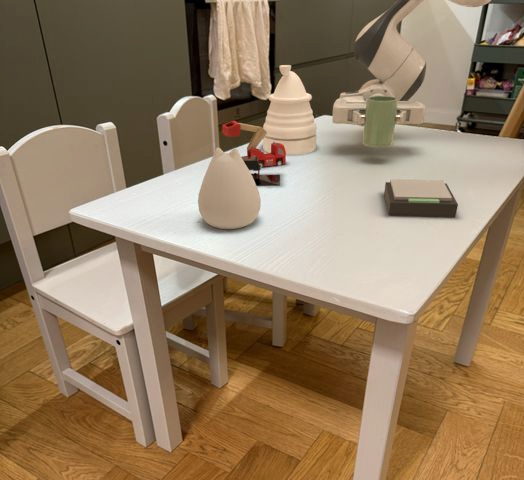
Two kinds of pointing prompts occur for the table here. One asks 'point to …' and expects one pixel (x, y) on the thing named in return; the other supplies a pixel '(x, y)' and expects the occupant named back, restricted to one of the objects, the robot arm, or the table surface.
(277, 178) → the build plate
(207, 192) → the toy character
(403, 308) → the table surface
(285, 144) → the honey pot
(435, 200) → the scale
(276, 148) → the toy fire truck
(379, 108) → the cup
